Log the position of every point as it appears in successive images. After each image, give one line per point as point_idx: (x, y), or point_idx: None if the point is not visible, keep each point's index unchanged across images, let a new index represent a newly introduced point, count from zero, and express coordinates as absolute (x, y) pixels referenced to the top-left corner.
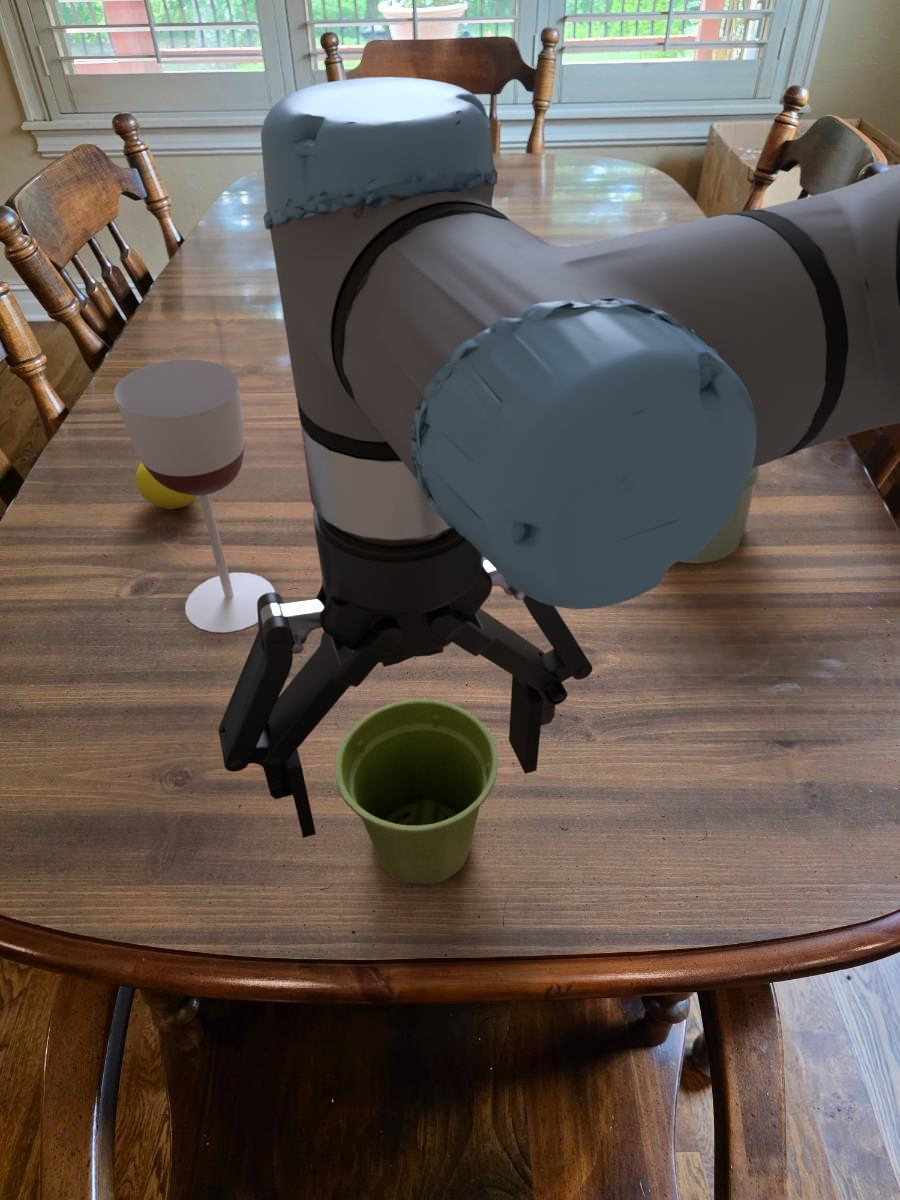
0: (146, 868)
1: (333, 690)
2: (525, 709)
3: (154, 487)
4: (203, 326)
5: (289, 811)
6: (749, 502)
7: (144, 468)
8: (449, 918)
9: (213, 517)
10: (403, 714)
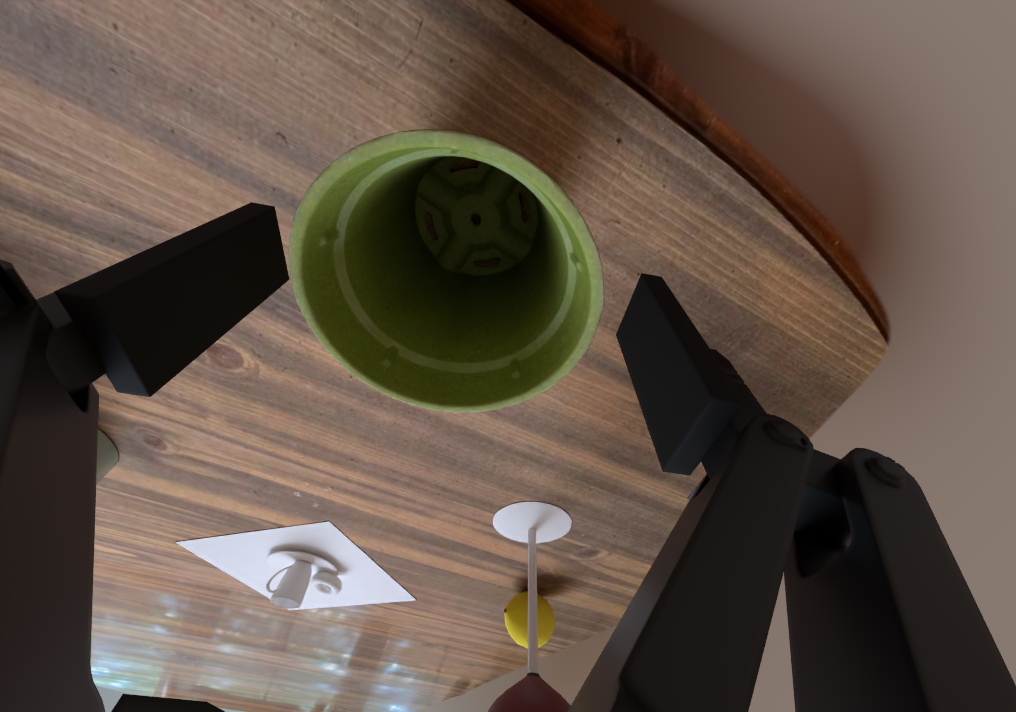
0: (756, 339)
1: (689, 673)
2: (154, 297)
3: (545, 622)
4: (448, 671)
5: None
6: None
7: (546, 640)
8: (492, 83)
9: (529, 634)
10: (433, 387)
